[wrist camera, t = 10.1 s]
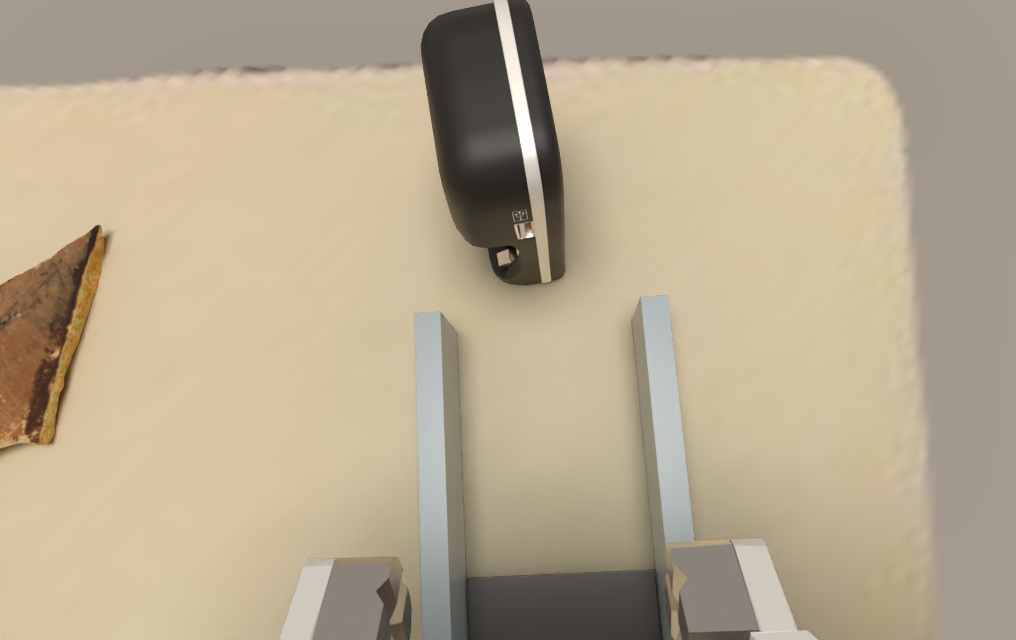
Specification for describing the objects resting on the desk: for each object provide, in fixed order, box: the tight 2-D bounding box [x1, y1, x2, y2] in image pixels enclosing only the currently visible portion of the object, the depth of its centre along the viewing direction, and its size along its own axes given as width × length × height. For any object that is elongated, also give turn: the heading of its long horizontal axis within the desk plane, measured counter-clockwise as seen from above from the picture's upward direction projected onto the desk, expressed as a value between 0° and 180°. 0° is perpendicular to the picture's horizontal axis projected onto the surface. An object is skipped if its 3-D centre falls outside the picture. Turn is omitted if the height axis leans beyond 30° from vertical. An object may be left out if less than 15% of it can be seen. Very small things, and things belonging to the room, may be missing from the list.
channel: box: [414, 295, 694, 640], centre depth 27 cm, size 10×14×4 cm
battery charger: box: [421, 0, 565, 284], centre depth 26 cm, size 7×4×11 cm, turn 10°
